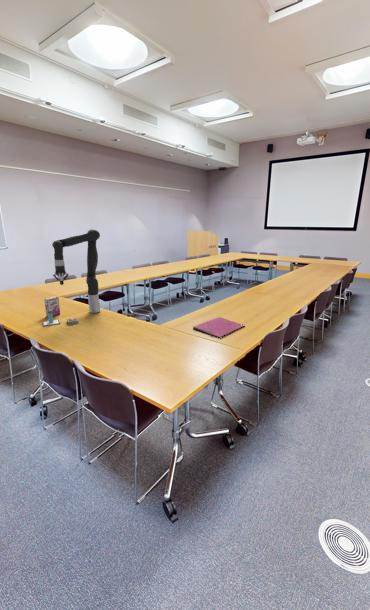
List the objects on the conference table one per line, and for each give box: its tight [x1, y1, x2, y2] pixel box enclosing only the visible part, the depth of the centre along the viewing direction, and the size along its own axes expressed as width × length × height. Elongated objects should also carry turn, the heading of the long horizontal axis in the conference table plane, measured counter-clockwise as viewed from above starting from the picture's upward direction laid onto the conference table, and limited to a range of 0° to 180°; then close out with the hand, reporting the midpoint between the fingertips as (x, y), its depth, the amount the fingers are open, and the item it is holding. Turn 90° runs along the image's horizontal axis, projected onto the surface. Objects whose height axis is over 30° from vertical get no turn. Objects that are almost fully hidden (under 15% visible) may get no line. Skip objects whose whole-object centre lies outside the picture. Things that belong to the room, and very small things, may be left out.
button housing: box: [66, 317, 79, 326], centre depth 243 cm, size 8×8×2 cm
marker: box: [47, 310, 54, 323], centre depth 239 cm, size 3×3×10 cm
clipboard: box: [41, 319, 61, 328], centre depth 241 cm, size 13×10×1 cm
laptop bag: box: [192, 316, 244, 339], centre depth 235 cm, size 40×4×27 cm
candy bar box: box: [44, 296, 61, 317], centre depth 258 cm, size 11×5×16 cm, turn 146°
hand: (61, 284), depth 249 cm, fingers closed
